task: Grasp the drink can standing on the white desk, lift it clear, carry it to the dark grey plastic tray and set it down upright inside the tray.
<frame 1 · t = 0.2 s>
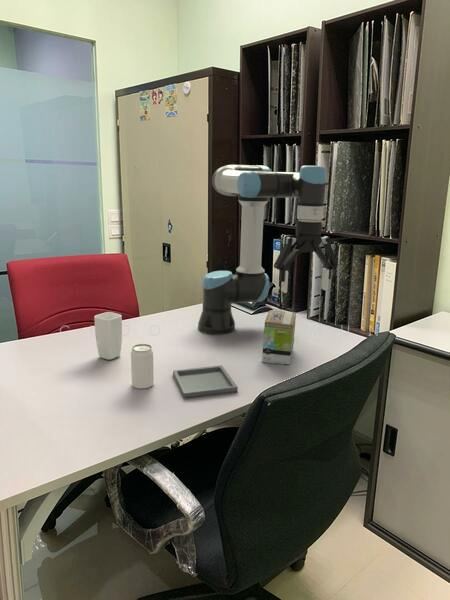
hand: (304, 290, 142), 28 cm above the table, fingers open, 13 cm apart
tray: (204, 383, 141), on the table
can: (142, 385, 139), on the table
cup: (109, 357, 159), on the table
tea box: (278, 356, 164), on the table
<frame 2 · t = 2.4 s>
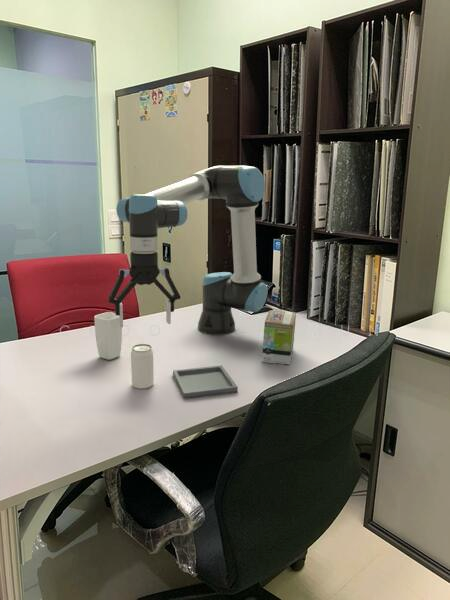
hand: (145, 324, 134), 19 cm above the table, fingers open, 13 cm apart
nothing on the table moved.
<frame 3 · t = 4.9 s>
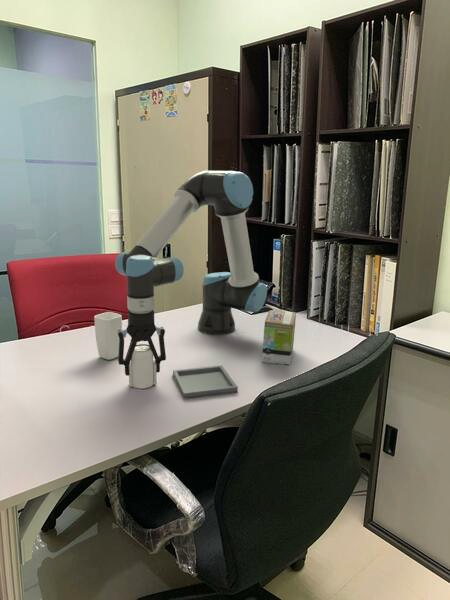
hand: (142, 383, 139), 0 cm above the table, fingers closed on can, 6 cm apart
can: (142, 385, 139), on the table, touching gripper
everything else where it was.
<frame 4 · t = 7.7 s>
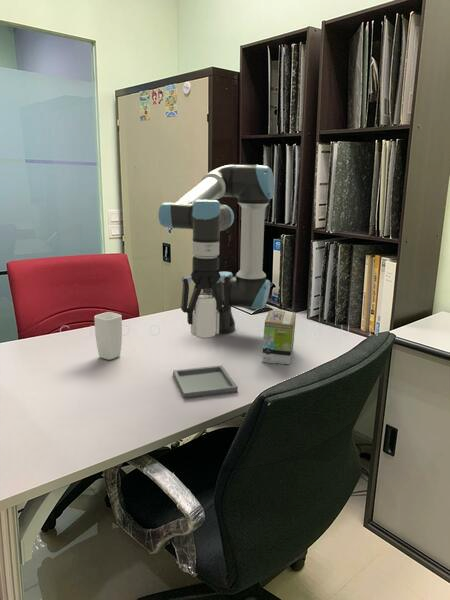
hand: (204, 333, 137), 16 cm above the table, fingers closed on can, 6 cm apart
can: (204, 335, 137), point 16 cm above the table, touching gripper
everything else where it was.
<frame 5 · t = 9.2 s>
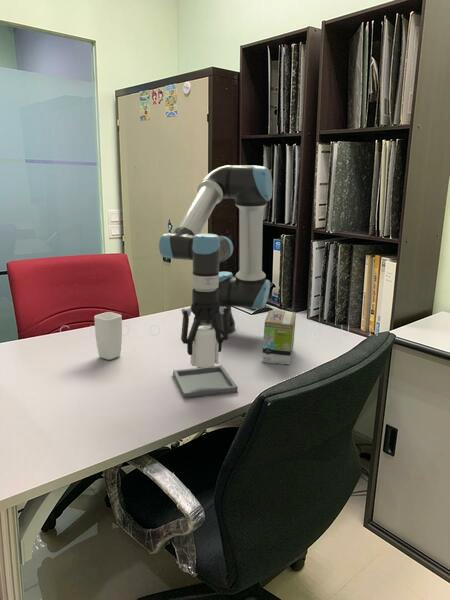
hand: (204, 363, 139), 7 cm above the table, fingers closed on can, 6 cm apart
can: (204, 365, 139), point 6 cm above the table, touching gripper
everything else where it was.
when the fingers open (2 cm above the table, at t = 10.5 s): can drops 1 cm, resting on tray.
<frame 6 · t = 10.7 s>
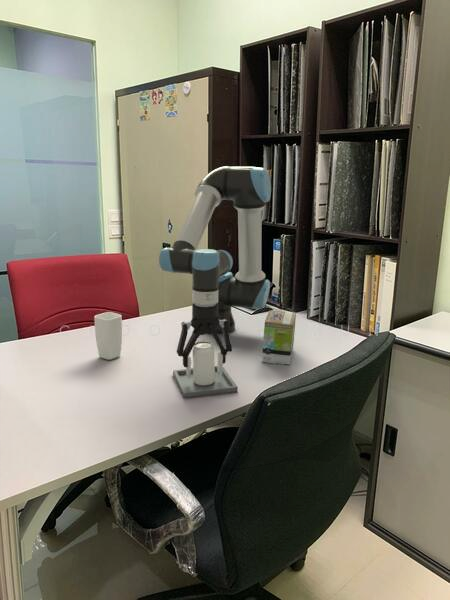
hand: (204, 374, 140), 3 cm above the table, fingers open, 9 cm apart
can: (204, 382, 141), point 1 cm above the table, touching tray
everything else where it was.
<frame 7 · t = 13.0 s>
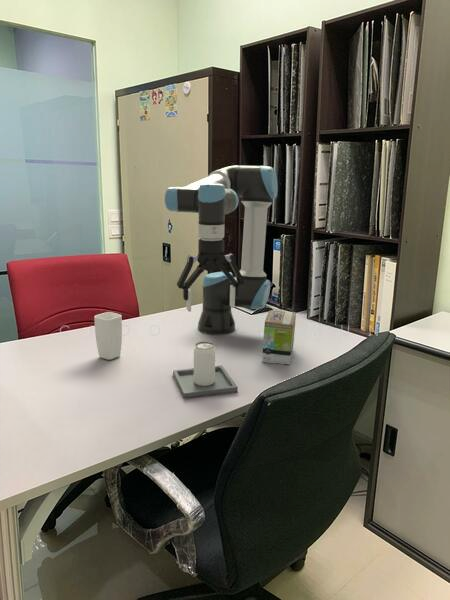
hand: (210, 308, 140), 22 cm above the table, fingers open, 13 cm apart
nothing on the table moved.
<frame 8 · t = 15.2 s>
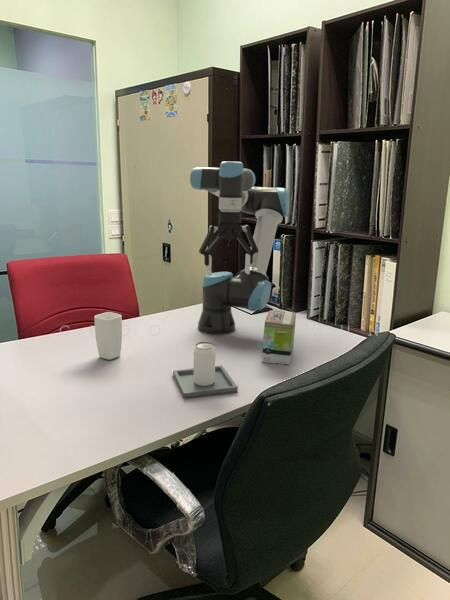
hand: (228, 274, 158), 29 cm above the table, fingers open, 13 cm apart
nothing on the table moved.
at the end: can inside the target area on the tray (0.0 cm from its centre), point 0.4 cm above the tray's base; can tilted 0°; the gripper is holding nothing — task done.
